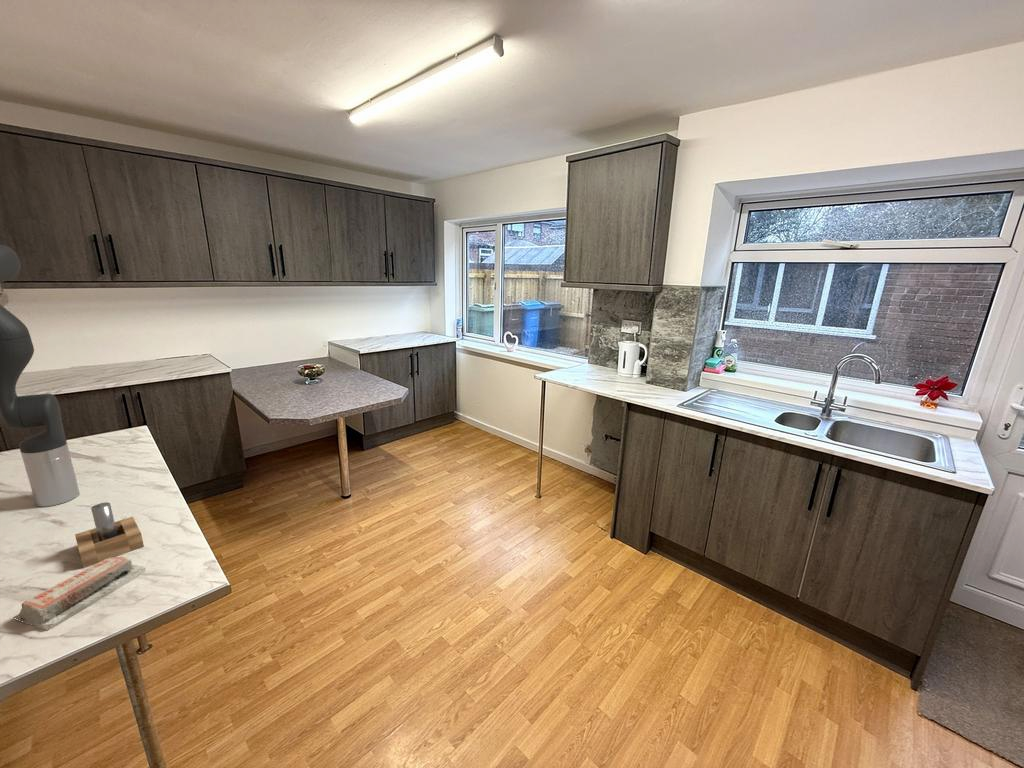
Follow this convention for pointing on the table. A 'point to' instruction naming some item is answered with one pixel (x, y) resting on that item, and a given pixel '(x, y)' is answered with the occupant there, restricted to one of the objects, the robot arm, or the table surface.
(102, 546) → the wooden frame
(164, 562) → the table surface
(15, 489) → the table surface
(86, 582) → the packaged product
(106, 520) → the steel rod
